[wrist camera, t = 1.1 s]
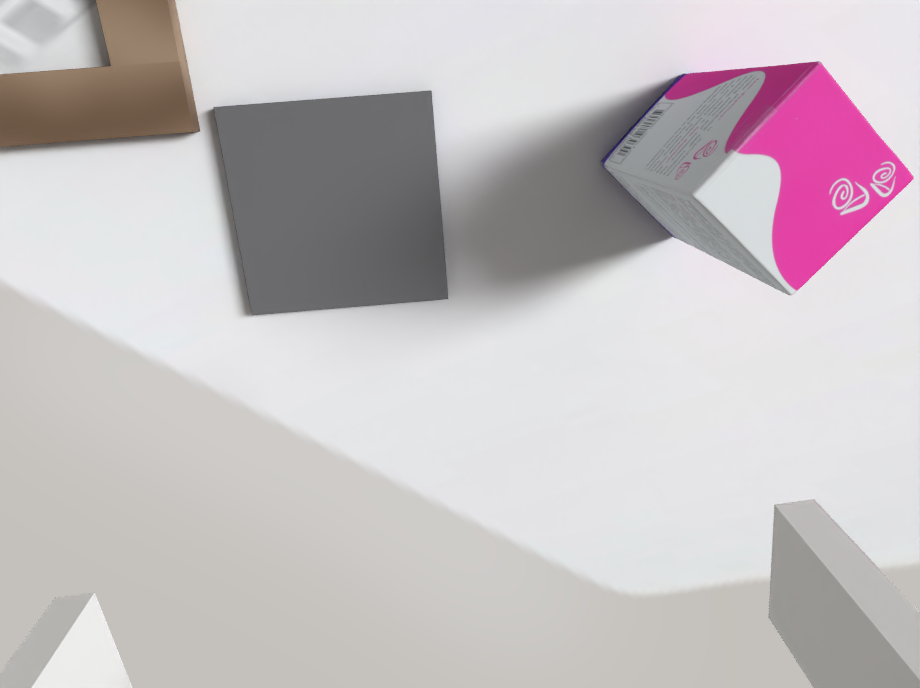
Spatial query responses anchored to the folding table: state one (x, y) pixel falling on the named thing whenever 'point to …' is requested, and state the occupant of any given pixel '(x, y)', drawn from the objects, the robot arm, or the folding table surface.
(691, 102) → the supplement box
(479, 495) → the folding table surface
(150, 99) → the wooden picture frame
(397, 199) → the mat
